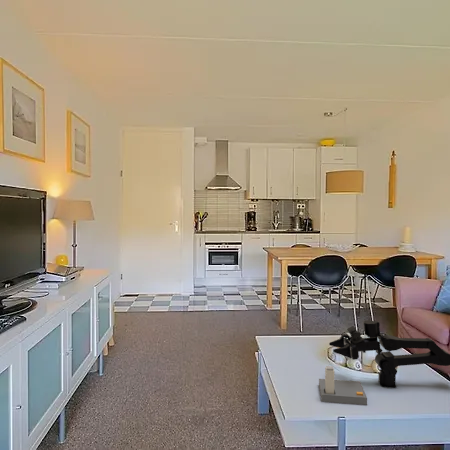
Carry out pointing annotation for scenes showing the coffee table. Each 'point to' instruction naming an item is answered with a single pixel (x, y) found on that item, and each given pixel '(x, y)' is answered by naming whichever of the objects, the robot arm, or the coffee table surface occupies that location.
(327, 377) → the plug
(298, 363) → the coffee table surface
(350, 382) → the socket board
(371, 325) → the robot arm
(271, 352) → the coffee table surface
